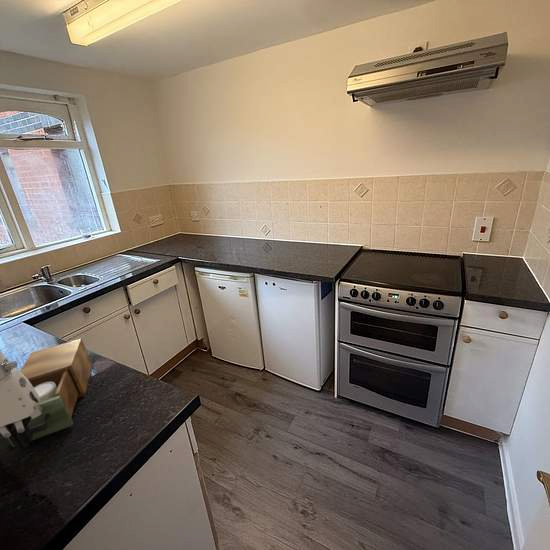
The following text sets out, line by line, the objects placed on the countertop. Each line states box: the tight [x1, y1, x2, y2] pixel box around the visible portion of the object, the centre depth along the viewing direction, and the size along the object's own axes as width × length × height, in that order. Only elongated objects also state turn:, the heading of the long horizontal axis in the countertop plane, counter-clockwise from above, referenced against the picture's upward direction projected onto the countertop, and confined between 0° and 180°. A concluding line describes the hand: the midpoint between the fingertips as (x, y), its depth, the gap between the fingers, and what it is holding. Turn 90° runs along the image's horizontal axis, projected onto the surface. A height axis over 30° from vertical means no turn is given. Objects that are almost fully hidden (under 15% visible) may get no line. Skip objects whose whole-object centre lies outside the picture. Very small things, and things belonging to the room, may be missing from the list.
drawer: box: [6, 369, 79, 448], centre depth 75 cm, size 19×12×9 cm, turn 23°
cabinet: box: [19, 338, 94, 399], centre depth 88 cm, size 16×14×11 cm
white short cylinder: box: [34, 382, 57, 402], centre depth 77 cm, size 7×7×7 cm
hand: (25, 443), depth 64 cm, fingers closed
